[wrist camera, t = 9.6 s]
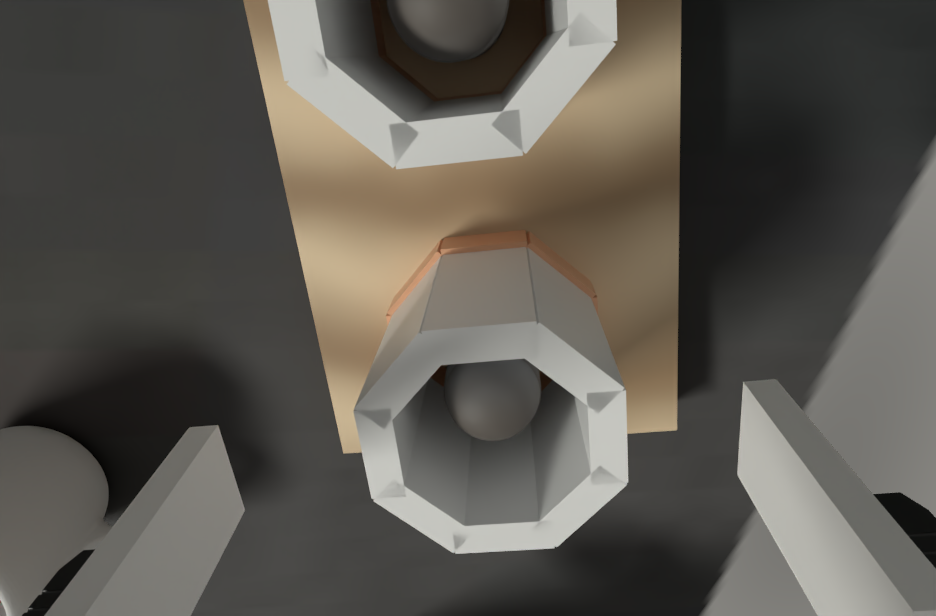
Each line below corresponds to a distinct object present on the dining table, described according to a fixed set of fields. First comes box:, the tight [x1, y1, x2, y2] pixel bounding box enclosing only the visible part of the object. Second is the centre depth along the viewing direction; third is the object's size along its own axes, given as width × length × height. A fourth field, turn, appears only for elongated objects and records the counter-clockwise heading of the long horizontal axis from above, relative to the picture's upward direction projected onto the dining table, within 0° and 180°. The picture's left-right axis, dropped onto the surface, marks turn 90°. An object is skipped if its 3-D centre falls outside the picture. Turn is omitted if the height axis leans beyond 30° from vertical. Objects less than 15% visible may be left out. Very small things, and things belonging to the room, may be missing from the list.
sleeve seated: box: [268, 0, 617, 169], centre depth 17 cm, size 8×8×8 cm
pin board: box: [243, 0, 681, 453], centre depth 20 cm, size 22×14×9 cm, turn 6°
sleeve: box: [353, 230, 628, 554], centre depth 21 cm, size 8×8×8 cm
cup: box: [0, 426, 113, 616], centre depth 27 cm, size 11×8×8 cm
